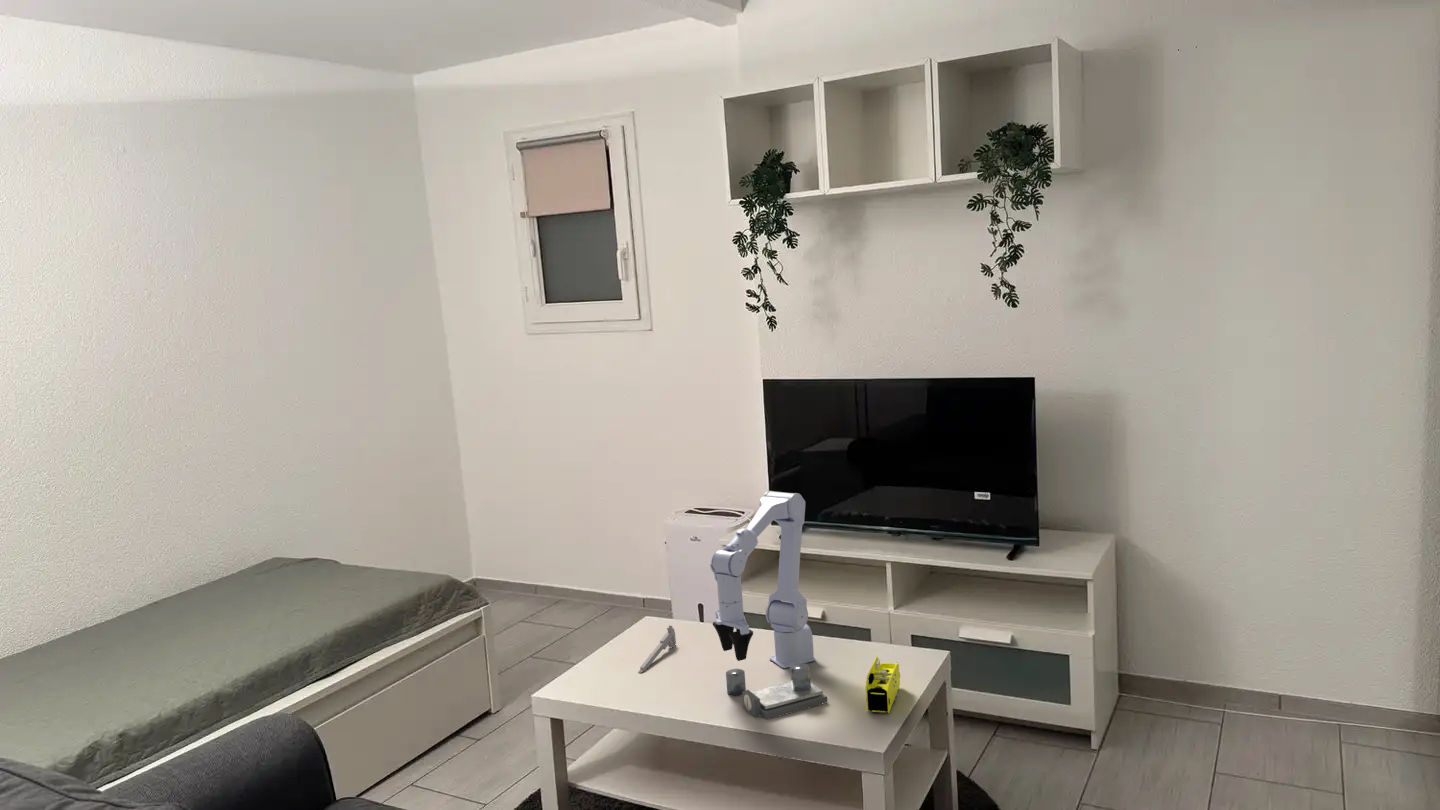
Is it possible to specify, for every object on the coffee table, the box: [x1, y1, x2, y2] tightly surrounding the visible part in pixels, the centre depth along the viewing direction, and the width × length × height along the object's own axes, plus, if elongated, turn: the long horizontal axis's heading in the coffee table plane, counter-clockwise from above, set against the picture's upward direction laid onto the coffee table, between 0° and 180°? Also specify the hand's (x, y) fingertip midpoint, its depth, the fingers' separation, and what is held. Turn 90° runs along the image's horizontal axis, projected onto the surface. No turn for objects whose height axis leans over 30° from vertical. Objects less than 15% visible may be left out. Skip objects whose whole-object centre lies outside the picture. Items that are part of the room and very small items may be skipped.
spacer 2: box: [789, 663, 812, 691], centre depth 244 cm, size 4×4×5 cm
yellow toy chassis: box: [865, 655, 901, 714], centre depth 240 cm, size 16×6×8 cm, turn 162°
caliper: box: [638, 625, 677, 674], centre depth 276 cm, size 20×1×6 cm, turn 157°
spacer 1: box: [725, 668, 747, 697], centre depth 251 cm, size 4×4×5 cm
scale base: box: [741, 689, 828, 720], centre depth 242 cm, size 18×11×4 cm, turn 115°
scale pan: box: [751, 681, 824, 710], centre depth 243 cm, size 15×9×1 cm, turn 115°
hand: (734, 654), depth 250 cm, fingers open, 7 cm apart
